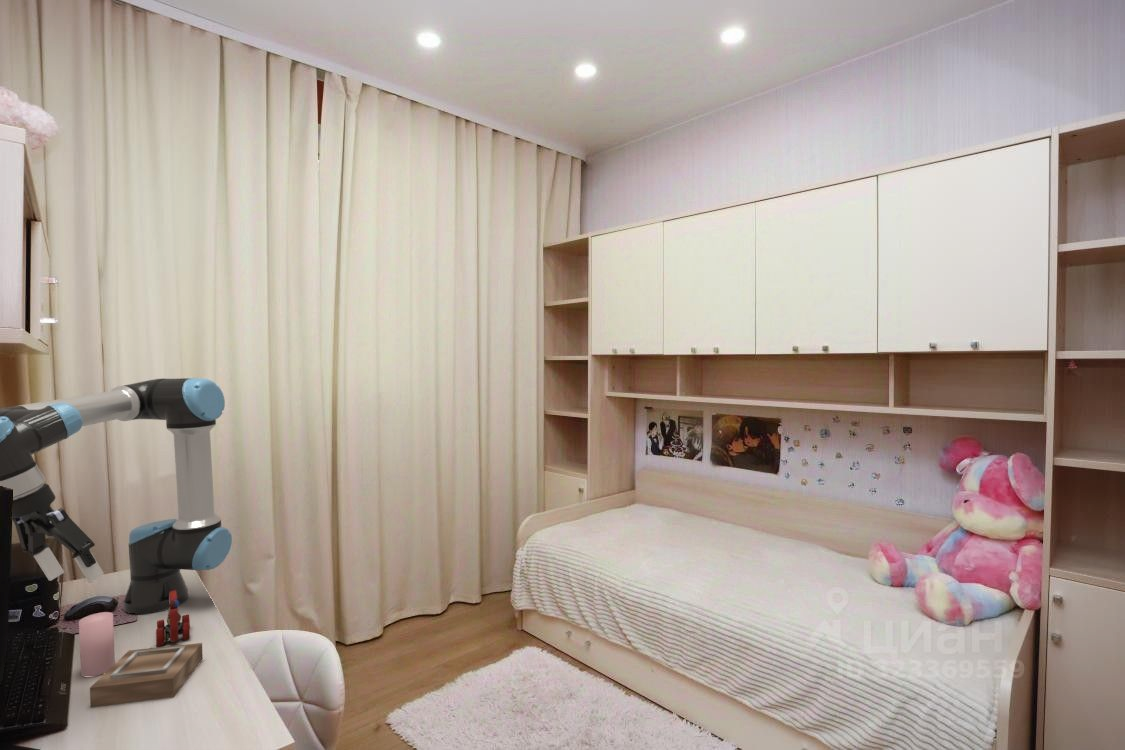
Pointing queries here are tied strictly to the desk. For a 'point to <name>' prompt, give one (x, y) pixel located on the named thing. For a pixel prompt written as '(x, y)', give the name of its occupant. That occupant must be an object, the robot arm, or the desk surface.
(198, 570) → the robot arm
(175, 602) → the toy fire truck
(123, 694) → the walnut base
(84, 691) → the desk surface
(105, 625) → the rose cylinder
